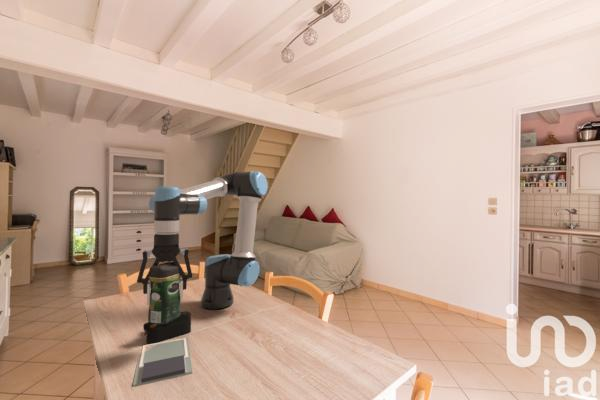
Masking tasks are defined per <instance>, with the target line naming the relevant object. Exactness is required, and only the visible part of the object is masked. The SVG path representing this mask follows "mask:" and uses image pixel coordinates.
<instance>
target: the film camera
mask: <svg viewBox="0 0 600 400" xmlns="http://www.w3.org/2000/svg"><path fill="white" fill-rule="evenodd" d="M191 316H192V314H191V312H190V311H188V310H185V311H183V310H181V315H180V316H179V317H178V318H176V319H174V320H172V321H170V322H168V323H166V324H157V325H156V324H152V323H150V322H149V321H148V320H147V321H148V322H145V323H144V324H143V325H142V326H143V331H144V333H143V334H144V336H145V337H146V340H145V341H146V345H148V344H154V343H159V342H165V341H169V340H171V339H172V340H173V339H174V338H178V337H181V336H184V335H189V334H190V333H191V332H192V322H191V321H192V319H191V318H192V317H191Z"/></svg>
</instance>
